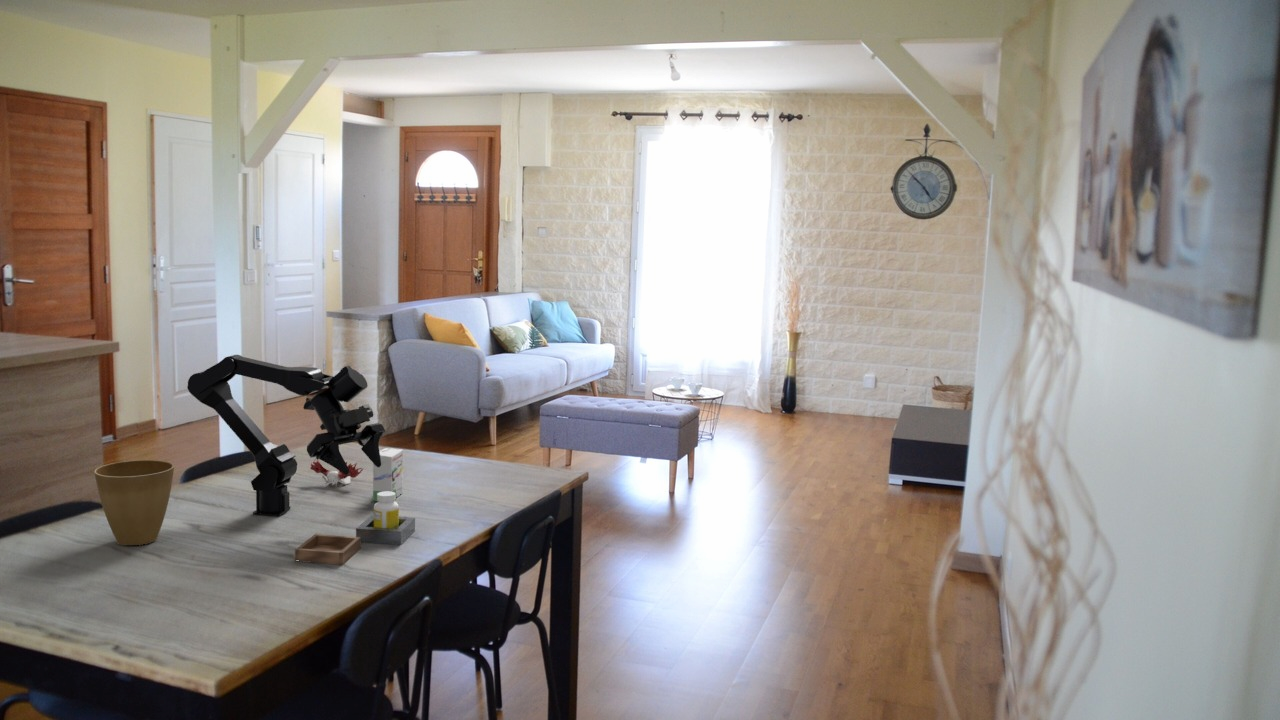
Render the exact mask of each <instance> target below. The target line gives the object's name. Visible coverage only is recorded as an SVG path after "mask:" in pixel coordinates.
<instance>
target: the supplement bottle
mask: <svg viewBox="0 0 1280 720" xmlns="http://www.w3.org/2000/svg"><path fill="white" fill-rule="evenodd" d="M396 499H397V498H396V494H395V492H391V491H384V492H379V493H377V501H376V503H375V504H374V505H373V515H374V527H375V528H390V529H397V528H398V527H399V517H400V516H399V513H400V512H399V511H400V509H399V508H400V507H399V506H400V505H399V504H398V501H396Z"/></svg>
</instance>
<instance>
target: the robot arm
mask: <svg viewBox="0 0 1280 720" xmlns="http://www.w3.org/2000/svg"><path fill="white" fill-rule="evenodd" d="M236 375H238V376H242V377H247V378H251V379H256V380H259V381H264V382H269V383H273V384H275V385H279V386H280V387H283V388H284V389H286V390H287V391H289V392H292V393H293V394H295V395H298V396H303V397H304V396H308V395H311V394H314V393H316V392H317V393H316V394H315V395H313V396H312V397H311V398H310V397H306V398H305V403H304V405H303V410H309V411H315V413H316V415H317V417H318V418H319V420H320V422H321V423H322V424H320V426H319V427H320V430H321V431H326V432H323V433H317V434H315V435H314V437H313V438H311V441H309V442H308V444H307V445H306V452H307V454H308V456H309V457H310V458H311V459H312V458H315V459H316V461H317V460H318V459H319V460H321V461H322V462H324V463H326V464H328V465H330V466H331V467H333V468H334V469H336V470H337V471H338V472H339V471H341V472H342V473H344V474H345V475H348V474H349V473H350V471H349V469H348V464H347V465H346V461H345V459H344V457H343V455H342V453H341V452H340V447H339V446H342V445H346V444H351V443H354V442H357V443H358V445H359V446H361V448H360V449H361V451H362V452H363V454H365V455H366V457H367V458H368V459H369V460H370V461H371V462H372V463H374V464H375V465H376V466H377V467H378V468H379V467H380V466H381V459H380V453H379V451H380V447H379V445H380V443H379V442H380V440H381V438H382V437H383V435H384V434H385V433H386V429H385V427H384V425H383V424H382V423H380V422H379V423H378V422H376V423H371V424H367V425H366V426H364V427H363V428H362V430H361V431H359V432H358V430H360V429H361V427H362V424H363V423H365V422H366V423H367V422H370V421H371V418H373V416H374V411H373V409H372V407H371V406H370V404H369V403H368V404H362V405H361V406H359V407H358V408H354V409H345V408H344V407H343V404H342V402H344V403H350V402H351V401H352V400H353V399H355V398H356V397H358V396H359V395H360V393H362V392H363V391H364V390H366V388H368V381H367V379H366V378H365V377H364V375H363V374H362V373H361V374H360V372H359V371H357V370H356V369H354V368H352V367H351V366H350V365H349V364H348V365H346V366H345V365H344V366H343V367H342V368H341V369H340V371H339V372H338V373H336V374H335V375H334V376H333V375H330V374H326V373H323V372H322V370H321V369H320V368H318V367H313V366H312V367H311V366H283V365H279V364H276V363H271V362H267V361H264V360H258V359H253V358H249V357H246V356H245V357H244V356H242V355H240V354H233V355H232V354H231V355H230V356H225V357H224V358H223V359H222V360H220V361H218V362H217V363H215V364H214V365H212V366H210V367H208V368H207V369H205V370H203V371H200V372H196V373H193V374H191V376H190V377H189V378H188V381H187V386H186V388H187V391H188V392H189V394H191V396H193V397H194V398H195V399H196V401H198V402H200V403H201V404H203V405H205V406H207V407H209V408H211V409H213V410H214V411H215V412H216V413H217V414H218V415H219V417H220V419H222V421H224V422H225V424H226V425H227V426H228V428H230V430H232V432H233V433H234V434H235V436H237V438H238V439H239V440H240V441H241V443H242V444H244V446H245V447H246V449H248V451H249V452H250V453H251V454H252V455H253V457H254V461H255V466H256V469H257V471H258V472H259V473H258V475H257V476H255V477H254V478H253V479H252V480H251V481H250V484H251V486H252V487H251V488H252V489H253V491H255V503H256V504H255V507H256V508H255V510H254V511H253V512H252V514H253V515H257V516H260V515H261V516H273V517H274V516H275V517H276V516H277V517H279V516H282V515H283V514H285V513H286V512H287V511H289V510H291V508H292V507H291V506H290V491H288V485H287V484H289V483H290V482H291V479H292V477H293V476H294V475H295V474H296V473H297V470H298V462H297V460H296V458H295V457H296V454H294V453H292V452H291V451H290V449H289V447H288V446H287V445H286V444H285V443H282V444H280V445H276V444H274V443H272V442H271V441H270V439H269V438H268V437H267V436H266V435H265V433H264V432H263V430H261V429H260V428H259V427H258V425H257V424H256V423H255V422H254V420H253V419H252V418H251V417H250V416H249V415H248V414H247V413H246V411H245V410H244V409H243V408H242V407H241V406H240V405H239V403H238V402H237V401H236V400H235V399H234V397H233V394H232V390H231V385H230V384H229V381H231V380H232V379H233V378H234V377H235V376H236ZM323 389H325V390H323ZM321 390H323V391H321Z"/></svg>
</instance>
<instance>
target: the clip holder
mask: <svg viewBox="0 0 1280 720" xmlns="http://www.w3.org/2000/svg"><path fill="white" fill-rule="evenodd" d="M415 529H416V517H409V516H406V517H405V516H399V527H398V528H397V529H390V528H375V527H374V514H371V515H370V516H368V518H367V519H365V520H364V521H363V522H362V523H360V525H358V526H357V527H356V528H355V537H361V543H367V544H369V543H371V544H381V545H382V544H386V545H398V546H399V545H400V546H401V545H403V543H405V541H406V540H407V539H408V538H409V537H410V536H411V535H412V534H413V533H414V532H415V531H416V530H415Z"/></svg>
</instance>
